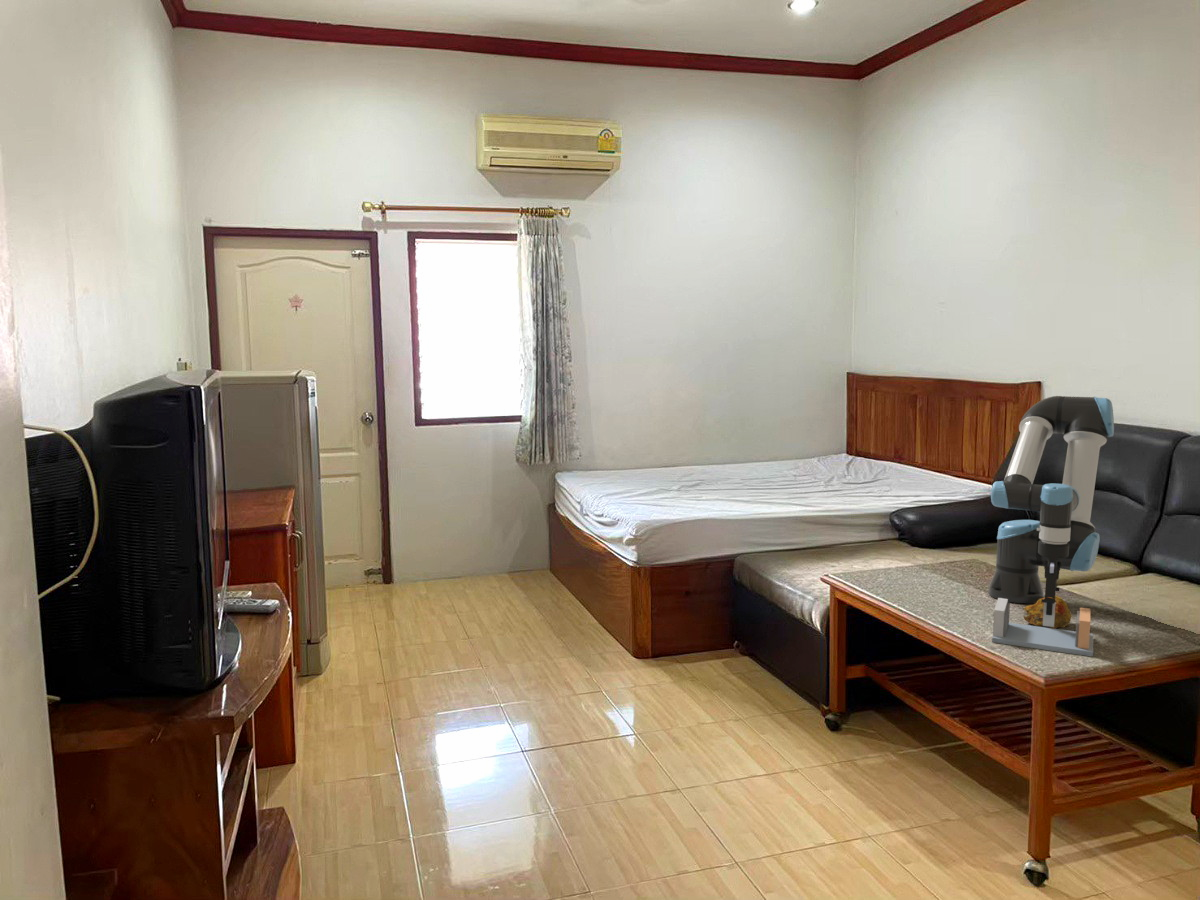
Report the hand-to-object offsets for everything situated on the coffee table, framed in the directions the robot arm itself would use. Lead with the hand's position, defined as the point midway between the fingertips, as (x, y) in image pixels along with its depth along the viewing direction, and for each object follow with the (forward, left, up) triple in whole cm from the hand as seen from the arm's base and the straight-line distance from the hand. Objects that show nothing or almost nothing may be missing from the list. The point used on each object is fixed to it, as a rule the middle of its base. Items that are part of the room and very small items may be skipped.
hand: (1049, 620), depth 245 cm
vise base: (+14, -1, -2) cm, 14 cm away
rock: (-1, 0, -2) cm, 2 cm away
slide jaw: (+14, +8, 0) cm, 16 cm away
